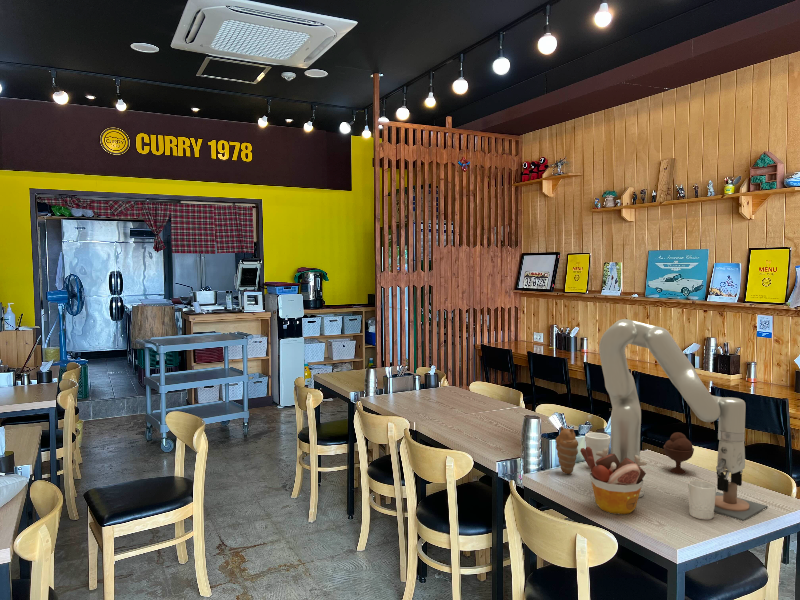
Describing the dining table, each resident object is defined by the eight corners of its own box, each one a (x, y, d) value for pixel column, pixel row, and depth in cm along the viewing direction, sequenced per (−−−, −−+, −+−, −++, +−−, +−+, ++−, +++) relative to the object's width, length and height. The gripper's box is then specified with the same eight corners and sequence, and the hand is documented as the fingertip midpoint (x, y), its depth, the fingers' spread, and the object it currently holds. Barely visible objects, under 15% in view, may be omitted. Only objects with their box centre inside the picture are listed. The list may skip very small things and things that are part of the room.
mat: (743, 521, 182) (743, 519, 182) (691, 505, 195) (691, 503, 194) (767, 507, 193) (767, 505, 193) (717, 493, 205) (717, 491, 205)
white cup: (685, 516, 185) (686, 485, 185) (689, 508, 192) (690, 478, 191) (713, 522, 181) (714, 490, 180) (716, 514, 187) (717, 483, 187)
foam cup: (602, 474, 225) (602, 440, 225) (580, 468, 232) (580, 435, 232) (614, 468, 232) (614, 435, 231) (592, 463, 239) (593, 431, 238)
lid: (740, 514, 186) (741, 492, 186) (704, 503, 194) (705, 482, 194) (754, 505, 193) (755, 484, 192) (719, 496, 201) (720, 475, 201)
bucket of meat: (637, 500, 199) (638, 441, 198) (653, 519, 182) (655, 455, 182) (576, 497, 201) (577, 439, 200) (587, 516, 184) (588, 453, 184)
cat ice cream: (551, 473, 226) (552, 426, 225) (562, 469, 231) (563, 423, 230) (571, 479, 219) (572, 431, 219) (583, 474, 225) (583, 427, 224)
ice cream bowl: (656, 469, 231) (657, 431, 231) (676, 465, 236) (677, 428, 235) (679, 477, 221) (680, 438, 221) (700, 473, 226) (701, 435, 226)
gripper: (731, 442, 185) (729, 496, 185) (755, 434, 195) (753, 485, 196) (706, 437, 191) (705, 489, 191) (731, 429, 201) (729, 479, 202)
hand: (729, 487), depth 194 cm, fingers open, 9 cm apart
